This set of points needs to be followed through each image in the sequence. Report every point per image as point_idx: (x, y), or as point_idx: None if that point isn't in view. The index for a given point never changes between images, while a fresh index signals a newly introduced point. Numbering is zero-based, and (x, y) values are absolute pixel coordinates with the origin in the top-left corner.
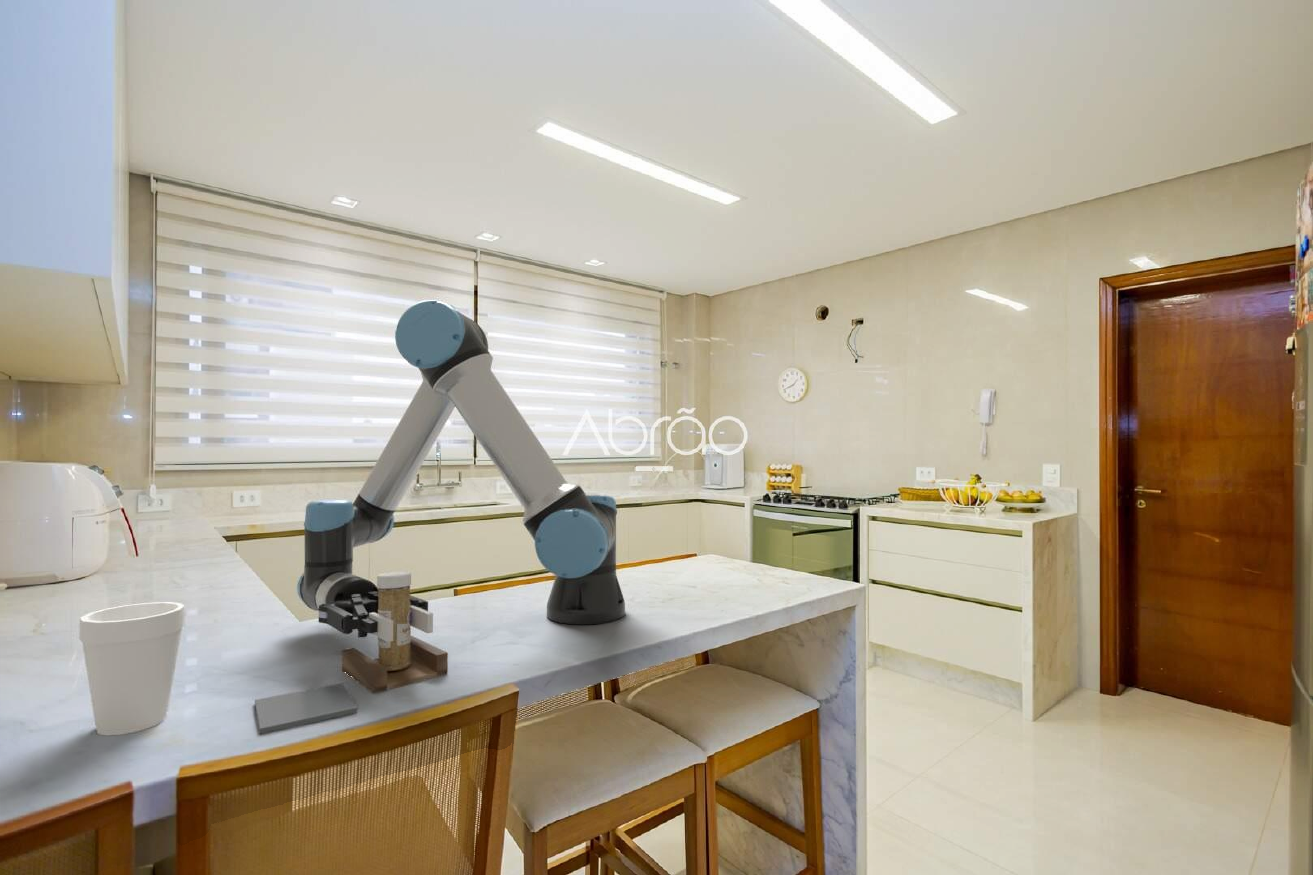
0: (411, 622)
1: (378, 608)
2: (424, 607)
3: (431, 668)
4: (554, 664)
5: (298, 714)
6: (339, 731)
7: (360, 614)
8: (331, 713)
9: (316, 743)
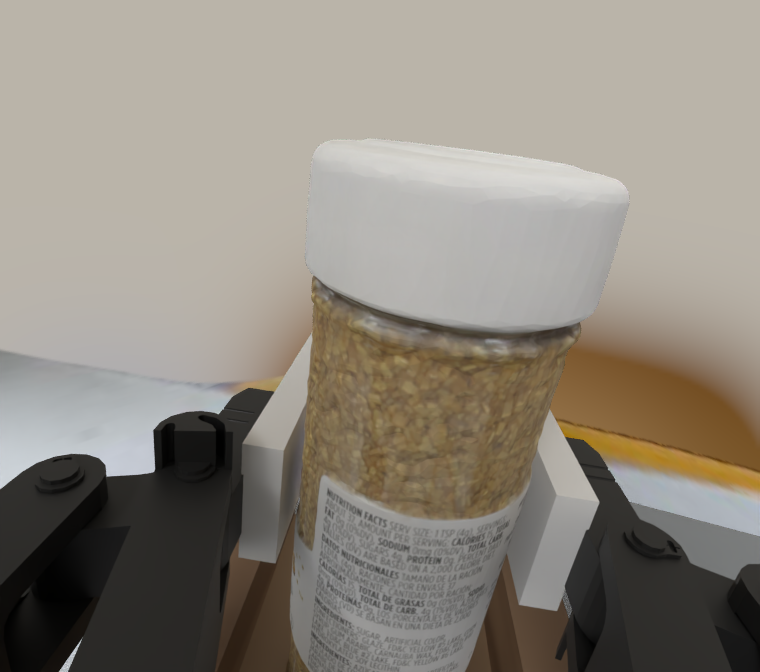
0: (292, 499)
1: (530, 467)
2: (112, 482)
3: (283, 543)
4: (67, 382)
5: (733, 557)
6: (609, 461)
7: (667, 539)
8: (637, 504)
9: (648, 455)
